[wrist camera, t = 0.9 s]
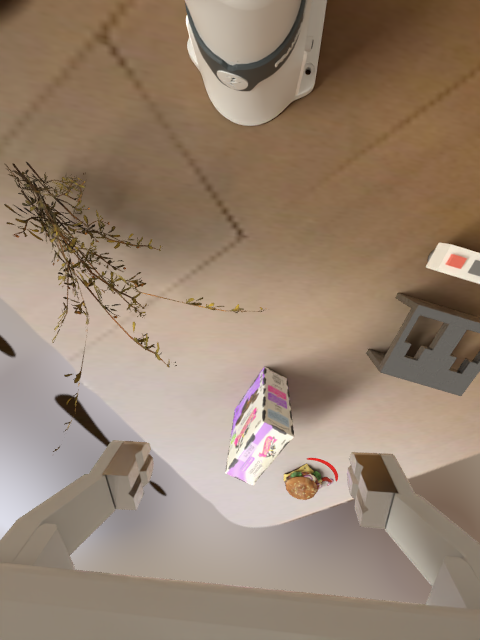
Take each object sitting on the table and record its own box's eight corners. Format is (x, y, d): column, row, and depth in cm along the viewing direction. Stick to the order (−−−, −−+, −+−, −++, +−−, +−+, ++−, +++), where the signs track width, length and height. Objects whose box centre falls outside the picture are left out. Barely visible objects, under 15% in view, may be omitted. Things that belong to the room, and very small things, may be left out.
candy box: (264, 365, 56) (263, 420, 41) (288, 377, 57) (296, 437, 42) (233, 409, 61) (223, 474, 46) (256, 421, 62) (253, 488, 47)
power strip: (425, 240, 45) (454, 244, 38) (509, 266, 45) (552, 274, 38) (413, 263, 46) (438, 271, 40) (494, 288, 47) (533, 300, 40)
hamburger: (302, 503, 71) (306, 527, 66) (270, 471, 68) (270, 494, 62) (349, 482, 67) (356, 506, 61) (316, 447, 64) (320, 469, 58)
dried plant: (-153, 207, 33) (7, 540, 24) (-37, -37, 26) (262, 301, 16) (71, 260, 62) (184, 419, 53) (155, 151, 55) (305, 313, 45)
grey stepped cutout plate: (398, 292, 48) (418, 304, 42) (476, 316, 49) (508, 331, 42) (366, 353, 53) (380, 372, 47) (437, 374, 54) (461, 396, 47)
